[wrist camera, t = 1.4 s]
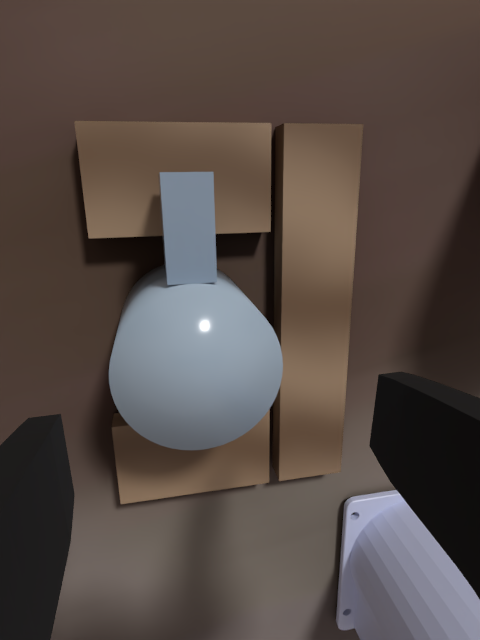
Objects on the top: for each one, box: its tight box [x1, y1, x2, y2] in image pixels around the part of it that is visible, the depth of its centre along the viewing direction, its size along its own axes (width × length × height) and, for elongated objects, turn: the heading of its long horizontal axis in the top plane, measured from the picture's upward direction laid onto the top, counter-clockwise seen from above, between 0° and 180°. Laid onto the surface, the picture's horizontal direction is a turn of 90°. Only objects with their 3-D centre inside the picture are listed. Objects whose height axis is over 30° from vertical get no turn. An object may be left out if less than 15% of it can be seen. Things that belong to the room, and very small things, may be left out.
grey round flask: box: [109, 172, 283, 450], centre depth 16 cm, size 9×6×6 cm, turn 1°
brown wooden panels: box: [74, 121, 363, 504], centre depth 19 cm, size 16×11×1 cm
